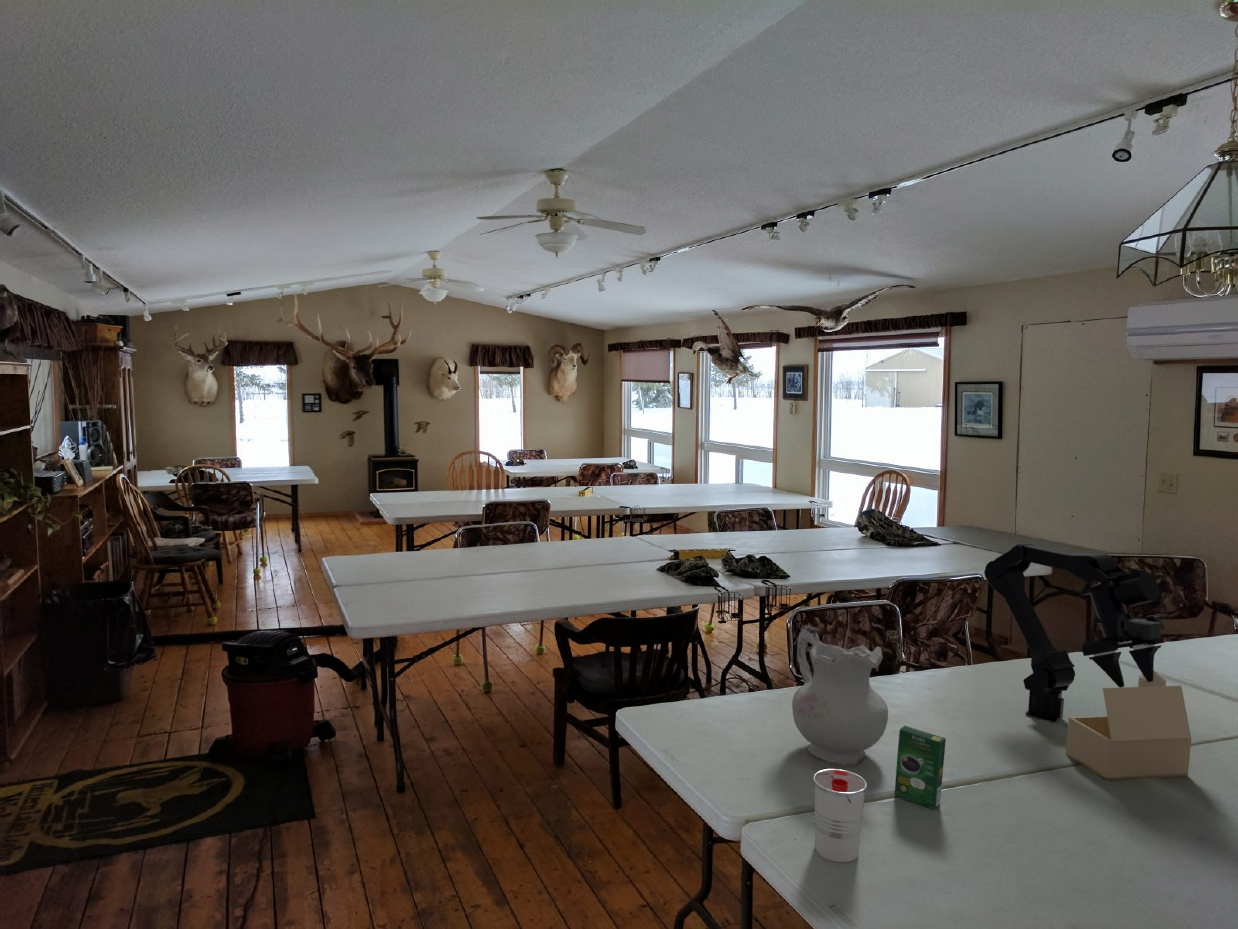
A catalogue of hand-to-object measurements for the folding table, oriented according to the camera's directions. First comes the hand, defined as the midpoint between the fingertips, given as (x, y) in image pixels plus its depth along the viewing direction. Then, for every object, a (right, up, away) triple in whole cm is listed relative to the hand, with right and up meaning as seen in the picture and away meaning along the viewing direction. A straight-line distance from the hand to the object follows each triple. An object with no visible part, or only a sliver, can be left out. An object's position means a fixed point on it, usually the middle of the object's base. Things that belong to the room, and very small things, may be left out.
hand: (1136, 684), depth 179 cm
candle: (+18, -13, +24) cm, 32 cm away
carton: (-5, -15, -5) cm, 17 cm away
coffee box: (-54, -16, -22) cm, 60 cm away
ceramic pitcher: (-64, -14, -1) cm, 66 cm away
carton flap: (-4, -3, -10) cm, 12 cm away
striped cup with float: (-73, -17, -40) cm, 85 cm away
